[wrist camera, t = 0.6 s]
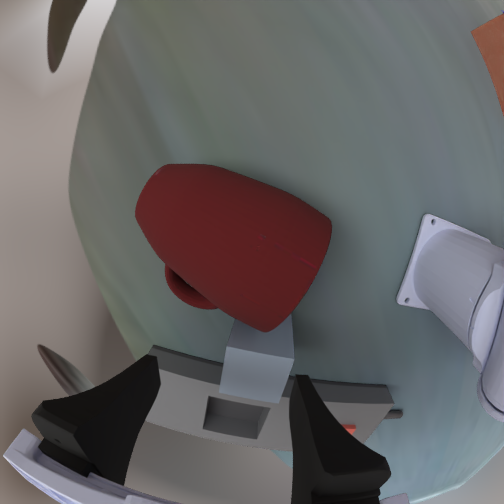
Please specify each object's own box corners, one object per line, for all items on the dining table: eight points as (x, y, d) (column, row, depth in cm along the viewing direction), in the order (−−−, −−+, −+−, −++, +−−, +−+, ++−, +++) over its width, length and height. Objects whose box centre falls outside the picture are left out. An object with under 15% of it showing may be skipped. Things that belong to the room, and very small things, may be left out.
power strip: (419, 385, 24) (431, 405, 20) (383, 433, 26) (390, 453, 23) (153, 344, 24) (139, 367, 20) (153, 402, 26) (143, 424, 23)
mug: (163, 229, 23) (261, 287, 24) (108, 292, 17) (232, 365, 18) (202, 121, 16) (334, 196, 17) (122, 161, 10) (328, 280, 11)
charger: (290, 306, 22) (294, 359, 15) (278, 348, 23) (277, 405, 16) (241, 297, 22) (226, 346, 15) (233, 340, 23) (218, 394, 16)
